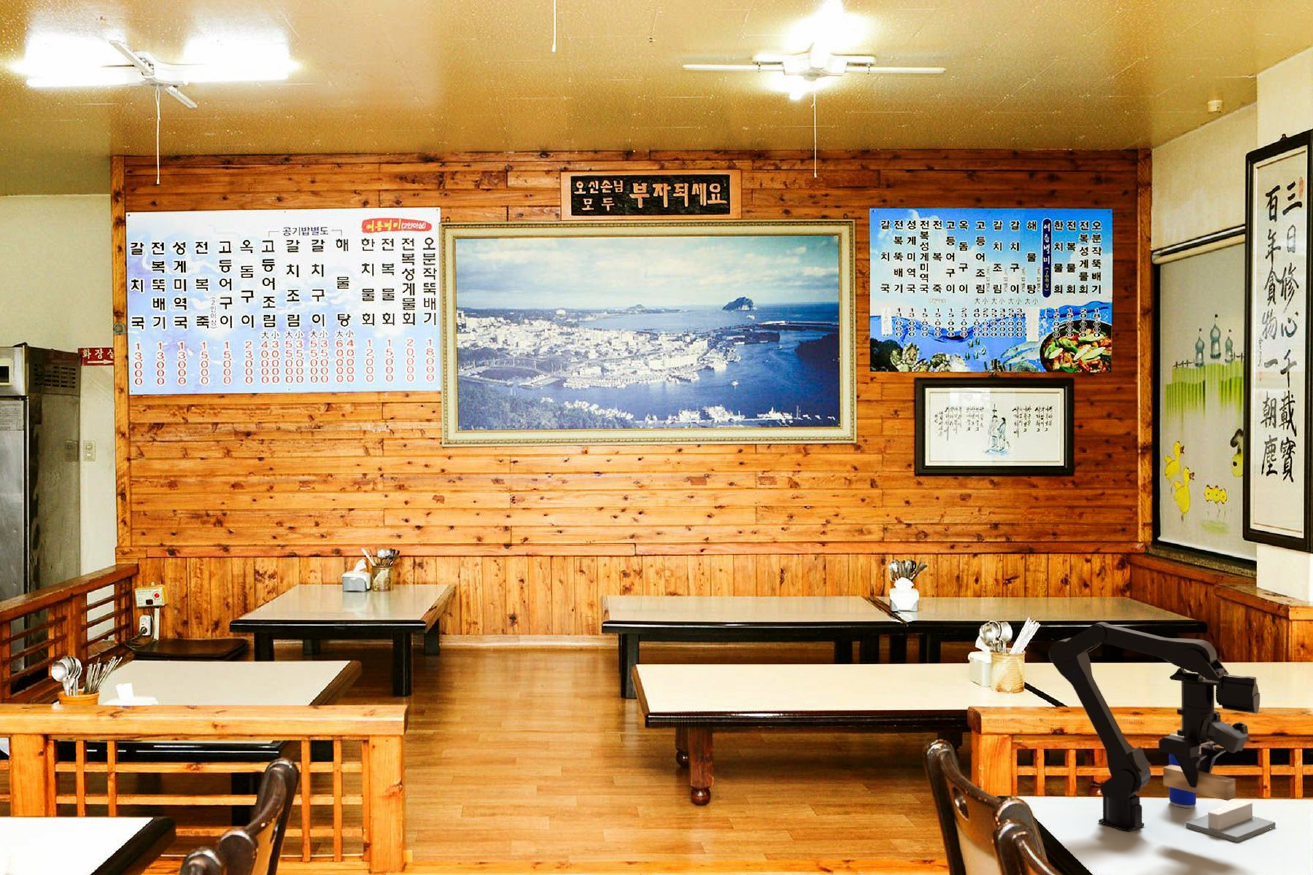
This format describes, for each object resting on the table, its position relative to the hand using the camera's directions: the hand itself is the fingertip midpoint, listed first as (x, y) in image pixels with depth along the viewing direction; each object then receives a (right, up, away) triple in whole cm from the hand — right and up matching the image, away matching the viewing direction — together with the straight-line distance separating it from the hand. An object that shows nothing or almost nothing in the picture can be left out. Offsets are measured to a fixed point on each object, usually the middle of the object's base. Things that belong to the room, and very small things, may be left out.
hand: (1198, 785), depth 196 cm
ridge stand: (+11, -12, +9) cm, 18 cm away
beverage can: (+9, -12, +23) cm, 27 cm away
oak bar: (0, -1, 0) cm, 1 cm away
